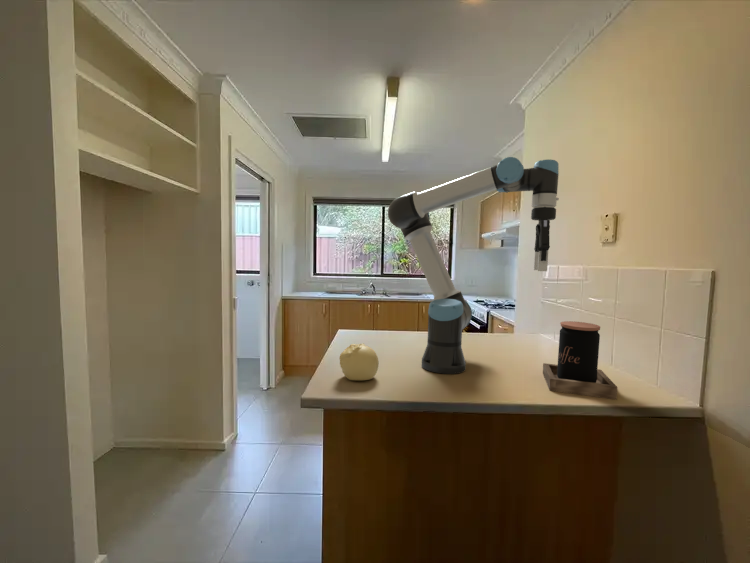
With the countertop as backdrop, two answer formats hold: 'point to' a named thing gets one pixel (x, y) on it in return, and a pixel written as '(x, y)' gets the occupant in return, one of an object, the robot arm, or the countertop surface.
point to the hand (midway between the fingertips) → (540, 270)
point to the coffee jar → (578, 351)
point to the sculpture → (359, 362)
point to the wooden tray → (580, 384)
